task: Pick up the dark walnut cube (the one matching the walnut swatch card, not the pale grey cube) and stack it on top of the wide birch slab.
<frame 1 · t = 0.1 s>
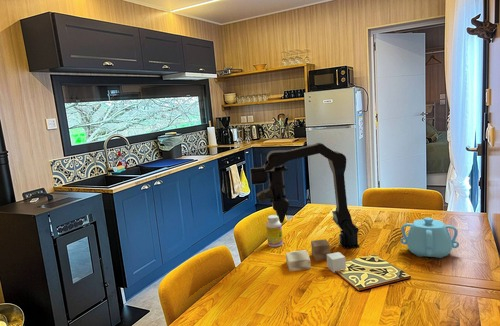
hand: (279, 219, 151), 15 cm above the table, tool pointing down, fingers open, 9 cm apart
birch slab: (298, 266, 140), on the table
walnut cube: (321, 257, 146), on the table
walnut swatch card: (299, 255, 149), on the table
supplement bottle: (275, 244, 163), on the table
grey cube: (336, 268, 135), on the table
decorative pot: (429, 252, 140), on the table
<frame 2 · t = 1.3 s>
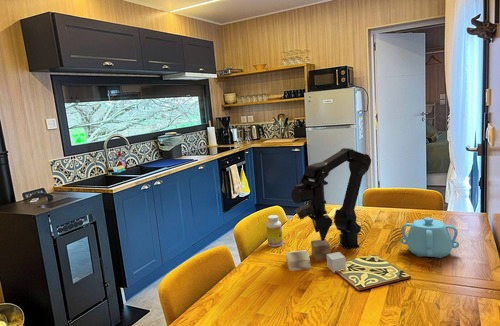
hand: (319, 236, 144), 9 cm above the table, tool pointing down, fingers open, 9 cm apart
nothing on the table moved.
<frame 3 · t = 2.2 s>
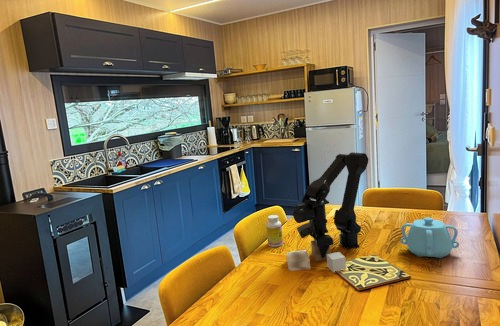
hand: (320, 254, 145), 1 cm above the table, tool pointing down, fingers closed on walnut cube, 6 cm apart
walnut cube: (321, 257, 146), on the table, touching gripper
everything else where it was.
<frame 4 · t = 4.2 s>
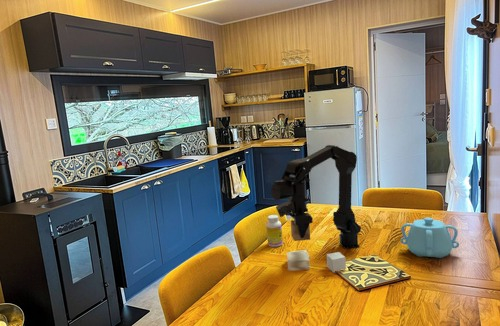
hand: (300, 234, 139), 12 cm above the table, tool pointing down, fingers closed on walnut cube, 6 cm apart
walnut cube: (300, 237, 140), point 11 cm above the table, touching gripper
everything else where it was.
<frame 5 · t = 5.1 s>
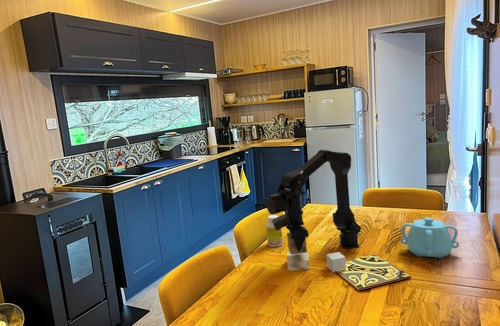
hand: (297, 247, 139), 7 cm above the table, tool pointing down, fingers closed on walnut cube, 6 cm apart
walnut cube: (297, 250, 139), point 6 cm above the table, touching gripper
everything else where it was.
when the fingers open (6 cm above the table, at t = 5.7 s): walnut cube drops 2 cm, resting on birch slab.
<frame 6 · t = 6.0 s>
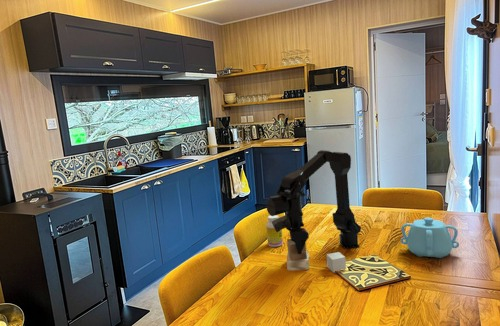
hand: (297, 249, 139), 6 cm above the table, tool pointing down, fingers open, 9 cm apart
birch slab: (298, 266, 140), on the table, touching walnut cube
walnut cube: (297, 256, 140), point 4 cm above the table, touching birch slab
everything else where it was.
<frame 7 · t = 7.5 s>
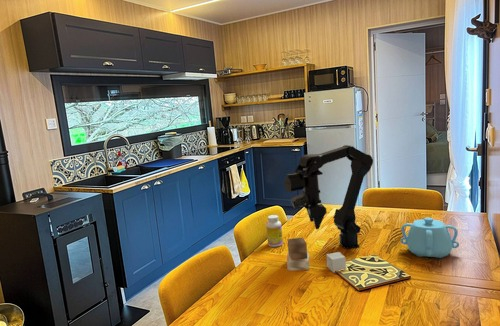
hand: (314, 225, 146), 12 cm above the table, tool pointing down, fingers open, 9 cm apart
nothing on the table moved.
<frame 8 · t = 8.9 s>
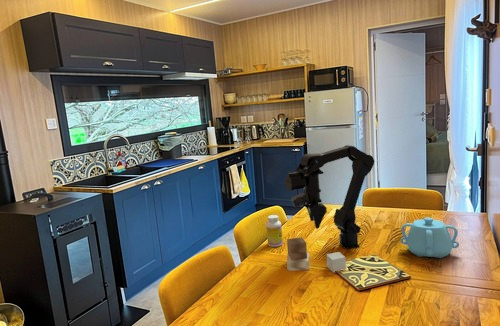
hand: (314, 224, 147), 13 cm above the table, tool pointing down, fingers open, 9 cm apart
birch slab: (298, 266, 140), on the table
walnut cube: (297, 255, 140), point 4 cm above the table
everything else where it was.
at the end: walnut cube 0.4 cm off-centre on the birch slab, point 4.0 cm above the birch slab's base; walnut cube tilted 1°; the gripper is holding nothing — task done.
